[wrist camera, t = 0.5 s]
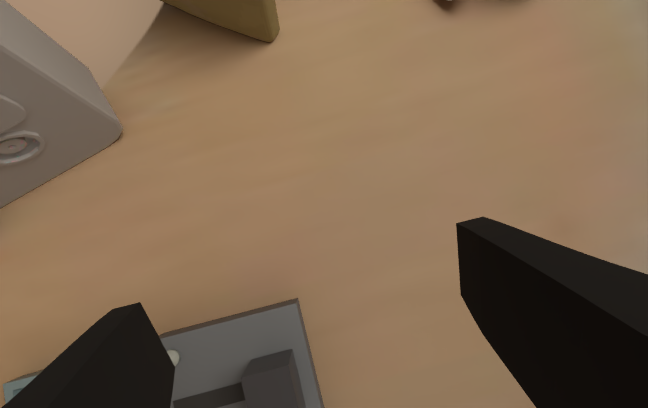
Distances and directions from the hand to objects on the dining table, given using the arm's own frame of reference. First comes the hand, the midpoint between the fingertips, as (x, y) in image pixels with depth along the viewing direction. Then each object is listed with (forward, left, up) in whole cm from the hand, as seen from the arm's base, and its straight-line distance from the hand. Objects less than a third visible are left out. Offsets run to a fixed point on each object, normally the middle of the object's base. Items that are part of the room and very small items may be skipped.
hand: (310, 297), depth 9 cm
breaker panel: (-7, +7, -23) cm, 25 cm away
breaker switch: (-7, +4, -20) cm, 21 cm away
